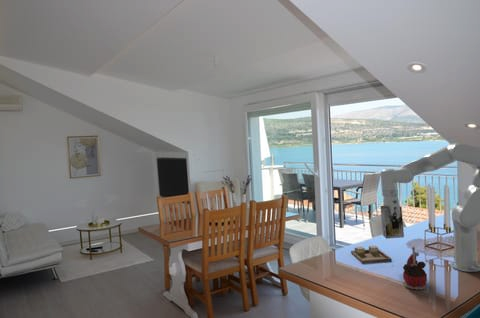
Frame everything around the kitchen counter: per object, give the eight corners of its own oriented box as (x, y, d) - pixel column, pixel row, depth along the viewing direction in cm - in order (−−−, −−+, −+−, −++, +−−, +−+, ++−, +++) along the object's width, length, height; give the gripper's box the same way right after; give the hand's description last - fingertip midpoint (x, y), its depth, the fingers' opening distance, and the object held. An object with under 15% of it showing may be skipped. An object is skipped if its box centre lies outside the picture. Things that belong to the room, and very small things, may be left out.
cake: (412, 292, 158) (410, 251, 158) (398, 284, 167) (396, 246, 167) (433, 288, 161) (431, 248, 160) (418, 281, 170) (416, 243, 169)
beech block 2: (378, 254, 208) (378, 247, 208) (371, 254, 208) (371, 248, 208) (375, 252, 212) (375, 245, 212) (369, 252, 212) (368, 246, 212)
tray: (391, 262, 196) (391, 258, 196) (362, 265, 195) (362, 260, 195) (378, 252, 214) (378, 248, 214) (351, 255, 213) (351, 250, 213)
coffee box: (400, 234, 193) (397, 204, 192) (404, 237, 186) (402, 206, 186) (382, 235, 193) (380, 205, 193) (386, 238, 187) (383, 207, 186)
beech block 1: (365, 255, 208) (364, 248, 208) (359, 256, 207) (358, 249, 207) (361, 253, 212) (360, 246, 212) (355, 254, 211) (354, 247, 211)
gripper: (405, 194, 180) (407, 230, 181) (389, 190, 198) (392, 222, 198) (390, 196, 180) (392, 231, 181) (376, 191, 198) (378, 223, 198)
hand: (392, 226), depth 190 cm, fingers closed on coffee box, 6 cm apart
